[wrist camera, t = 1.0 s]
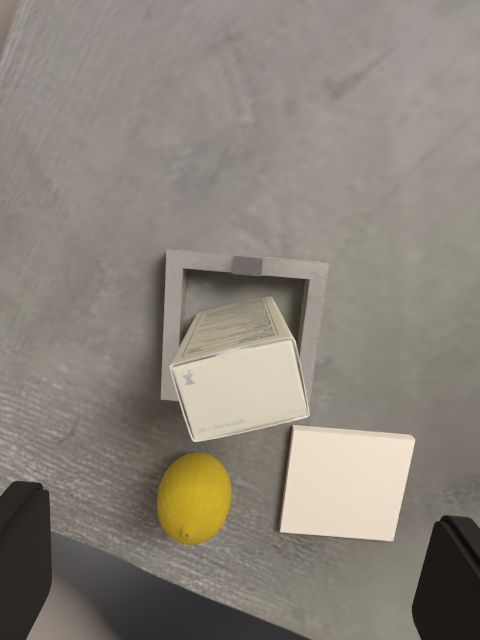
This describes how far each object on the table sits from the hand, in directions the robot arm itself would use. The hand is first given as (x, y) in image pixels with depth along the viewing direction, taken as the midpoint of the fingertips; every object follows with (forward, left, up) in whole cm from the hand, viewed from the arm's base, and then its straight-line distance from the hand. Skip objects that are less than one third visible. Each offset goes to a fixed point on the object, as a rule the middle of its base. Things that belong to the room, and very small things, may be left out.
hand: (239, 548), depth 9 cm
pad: (-10, +13, -21) cm, 27 cm away
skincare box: (0, 0, -22) cm, 22 cm away
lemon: (+3, +13, -22) cm, 25 cm away
